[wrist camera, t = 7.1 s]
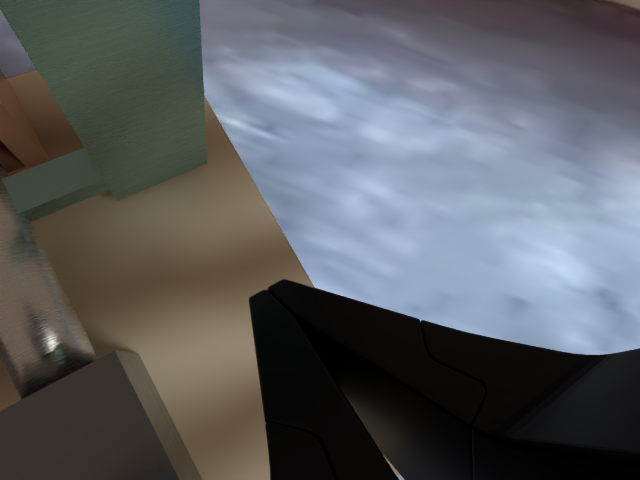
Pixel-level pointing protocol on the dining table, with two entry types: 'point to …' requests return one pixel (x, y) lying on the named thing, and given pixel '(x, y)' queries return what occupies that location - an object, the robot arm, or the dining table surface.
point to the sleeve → (94, 428)
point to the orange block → (17, 134)
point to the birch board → (173, 286)
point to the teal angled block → (92, 151)
